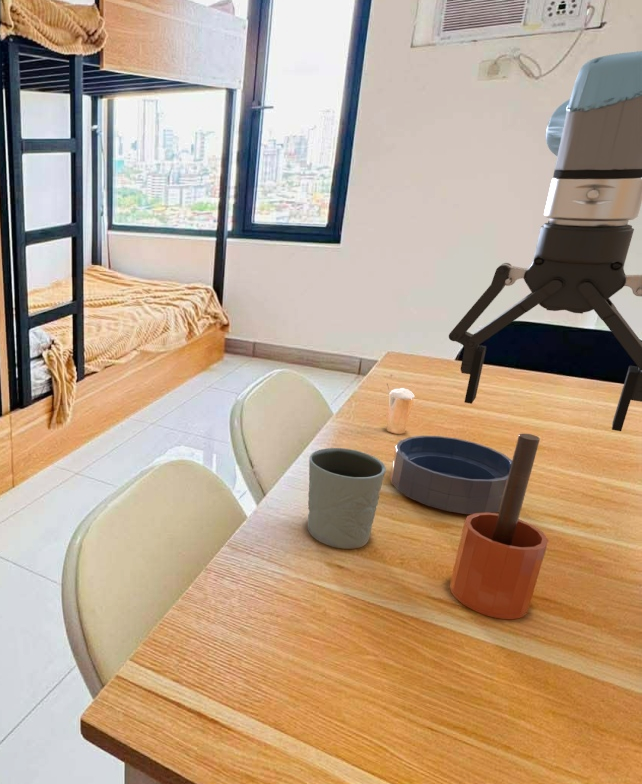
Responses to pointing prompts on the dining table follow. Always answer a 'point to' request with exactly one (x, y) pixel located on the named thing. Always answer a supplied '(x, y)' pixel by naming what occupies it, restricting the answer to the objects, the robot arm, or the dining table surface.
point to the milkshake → (399, 409)
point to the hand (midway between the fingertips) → (538, 412)
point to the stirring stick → (515, 488)
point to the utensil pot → (497, 567)
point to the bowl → (450, 474)
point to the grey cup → (343, 496)
